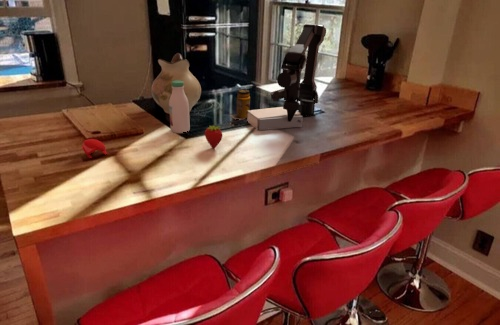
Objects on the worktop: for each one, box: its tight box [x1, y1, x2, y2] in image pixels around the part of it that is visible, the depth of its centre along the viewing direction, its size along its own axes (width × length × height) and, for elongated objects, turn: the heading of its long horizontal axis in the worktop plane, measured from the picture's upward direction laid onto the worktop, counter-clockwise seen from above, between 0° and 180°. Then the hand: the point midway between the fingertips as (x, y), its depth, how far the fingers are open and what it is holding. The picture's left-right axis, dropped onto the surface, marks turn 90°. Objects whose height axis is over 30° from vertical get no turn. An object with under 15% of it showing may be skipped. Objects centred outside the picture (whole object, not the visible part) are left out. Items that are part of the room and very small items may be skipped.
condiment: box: [229, 89, 251, 121], centre depth 168 cm, size 7×8×12 cm
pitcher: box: [151, 52, 202, 115], centre depth 172 cm, size 22×24×25 cm
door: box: [256, 115, 304, 131], centre depth 156 cm, size 20×2×5 cm, turn 107°
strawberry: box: [204, 122, 223, 149], centre depth 135 cm, size 6×8×10 cm
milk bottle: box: [169, 81, 191, 134], centre depth 149 cm, size 8×8×20 cm
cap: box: [81, 138, 108, 159], centre depth 128 cm, size 8×6×6 cm
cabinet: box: [246, 106, 301, 130], centre depth 163 cm, size 20×11×5 cm, turn 113°
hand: (289, 121), depth 156 cm, fingers closed
